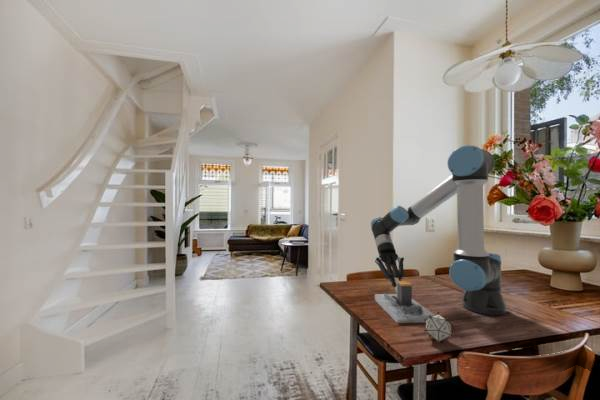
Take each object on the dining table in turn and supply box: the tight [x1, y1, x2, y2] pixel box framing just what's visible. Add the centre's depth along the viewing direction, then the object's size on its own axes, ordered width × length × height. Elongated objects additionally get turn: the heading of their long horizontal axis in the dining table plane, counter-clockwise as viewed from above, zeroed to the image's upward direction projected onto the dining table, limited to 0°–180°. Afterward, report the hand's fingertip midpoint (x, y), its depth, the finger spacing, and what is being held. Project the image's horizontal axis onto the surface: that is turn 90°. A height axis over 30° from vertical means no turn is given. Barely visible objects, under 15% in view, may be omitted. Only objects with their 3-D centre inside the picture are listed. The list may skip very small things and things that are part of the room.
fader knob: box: [396, 280, 413, 306], centre depth 110 cm, size 5×5×9 cm
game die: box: [423, 311, 455, 345], centre depth 87 cm, size 9×8×10 cm
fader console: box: [374, 292, 435, 324], centre depth 112 cm, size 24×14×4 cm, turn 4°
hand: (399, 293), depth 113 cm, fingers closed
